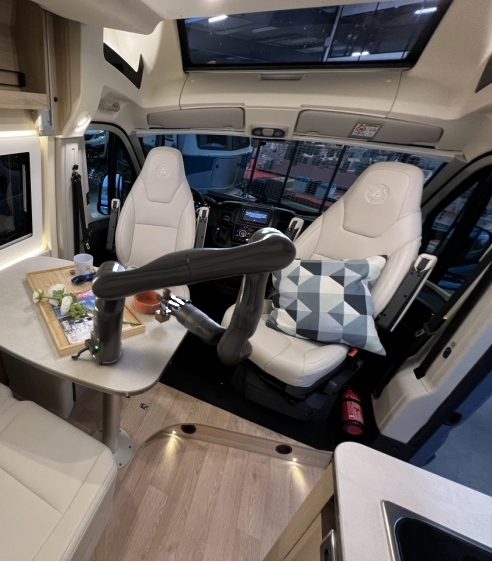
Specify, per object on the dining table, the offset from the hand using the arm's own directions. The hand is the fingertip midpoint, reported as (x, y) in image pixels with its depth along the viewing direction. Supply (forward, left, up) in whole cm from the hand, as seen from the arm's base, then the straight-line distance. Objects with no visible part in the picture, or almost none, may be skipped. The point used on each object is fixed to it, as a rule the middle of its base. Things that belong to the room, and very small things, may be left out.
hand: (160, 295), depth 109 cm
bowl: (+3, +10, -12) cm, 16 cm away
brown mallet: (0, -3, -10) cm, 10 cm away
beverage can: (+4, +23, -12) cm, 26 cm away
